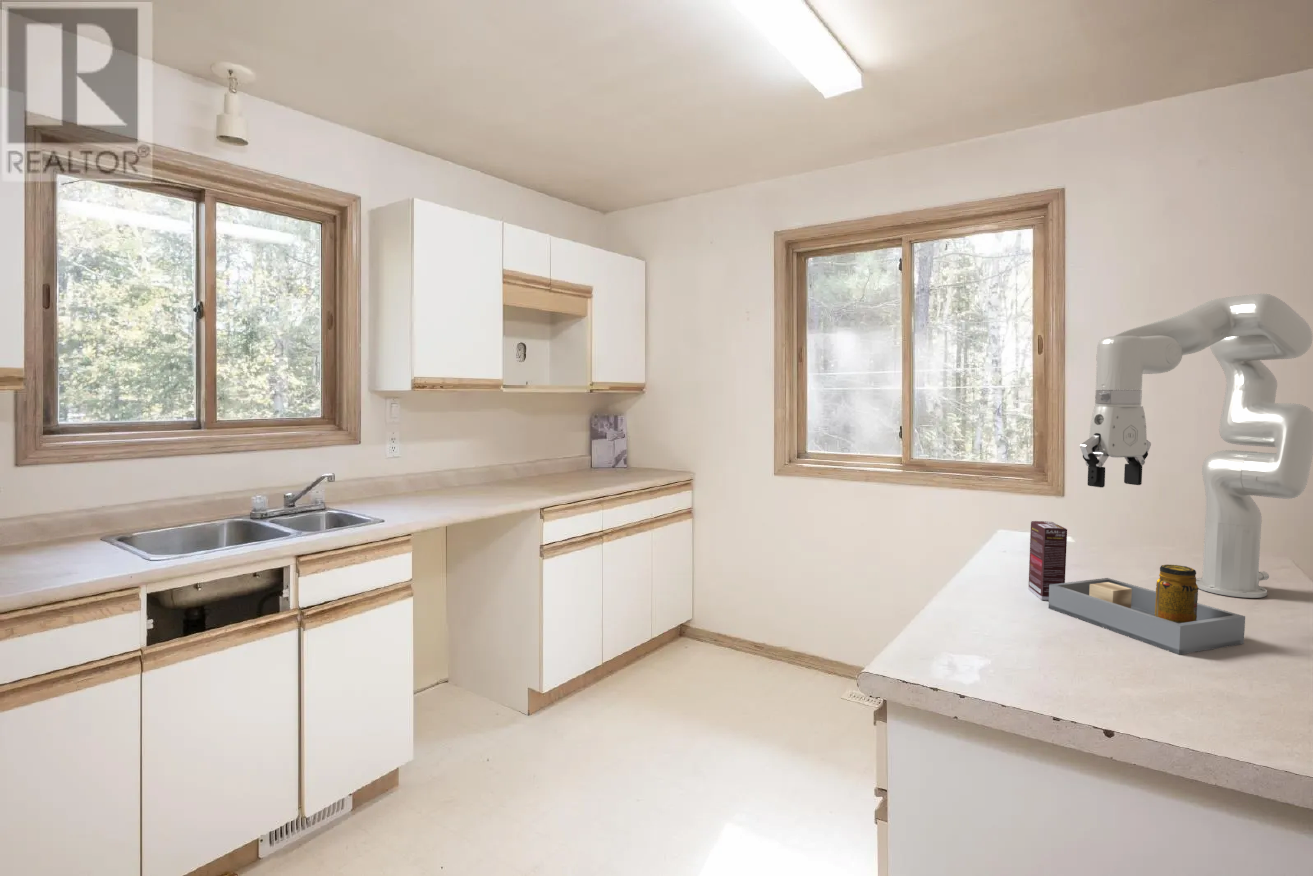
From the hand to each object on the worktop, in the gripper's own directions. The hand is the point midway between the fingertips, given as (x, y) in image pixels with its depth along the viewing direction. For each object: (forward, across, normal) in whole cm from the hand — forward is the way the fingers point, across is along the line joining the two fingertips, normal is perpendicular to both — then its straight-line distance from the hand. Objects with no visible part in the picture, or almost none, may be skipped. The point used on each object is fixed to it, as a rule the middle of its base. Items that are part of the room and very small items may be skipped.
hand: (1114, 485), depth 133 cm
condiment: (+26, 0, -13) cm, 29 cm away
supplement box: (+26, -1, +14) cm, 30 cm away
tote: (+26, 0, -6) cm, 27 cm away
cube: (+26, 0, 0) cm, 26 cm away
